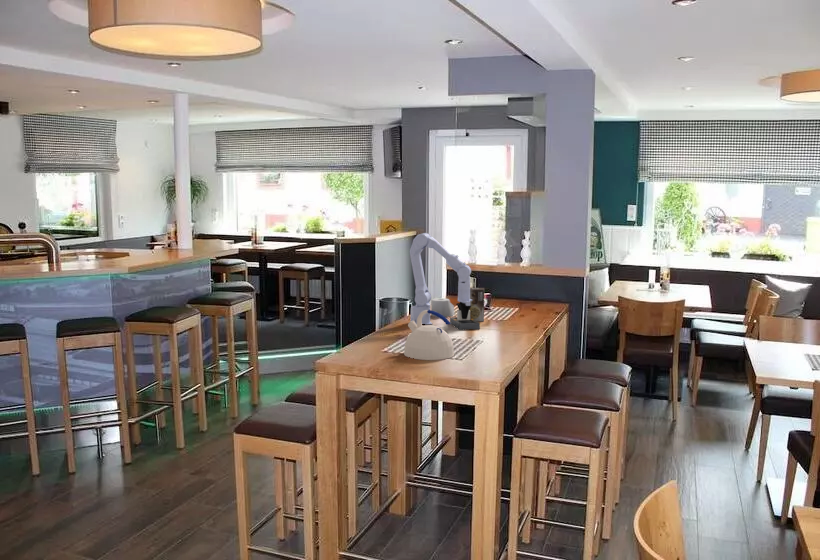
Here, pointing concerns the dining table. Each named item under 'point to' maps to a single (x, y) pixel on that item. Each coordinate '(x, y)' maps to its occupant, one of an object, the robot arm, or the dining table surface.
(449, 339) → the kettle
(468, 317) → the panel
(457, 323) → the rack
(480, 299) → the coffee box
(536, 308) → the dining table surface
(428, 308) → the robot arm
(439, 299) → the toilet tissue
